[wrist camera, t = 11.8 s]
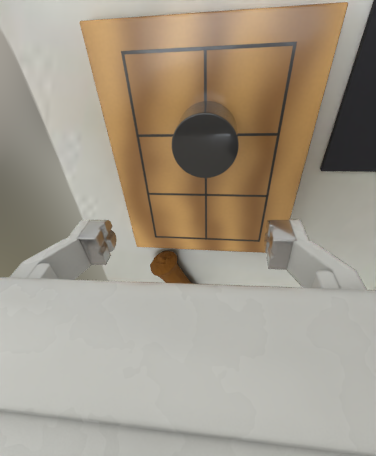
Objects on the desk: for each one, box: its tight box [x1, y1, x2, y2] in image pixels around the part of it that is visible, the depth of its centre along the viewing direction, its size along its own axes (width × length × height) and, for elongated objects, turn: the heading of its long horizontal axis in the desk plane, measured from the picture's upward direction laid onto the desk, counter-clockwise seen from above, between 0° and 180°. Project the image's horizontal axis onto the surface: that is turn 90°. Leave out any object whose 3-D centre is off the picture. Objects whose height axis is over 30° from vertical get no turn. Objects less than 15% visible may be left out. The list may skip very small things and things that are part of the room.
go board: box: [80, 2, 348, 253], centre depth 22 cm, size 16×20×2 cm
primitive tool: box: [150, 251, 192, 284], centre depth 35 cm, size 19×6×4 cm, turn 26°
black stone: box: [172, 101, 239, 178], centre depth 18 cm, size 5×5×3 cm
